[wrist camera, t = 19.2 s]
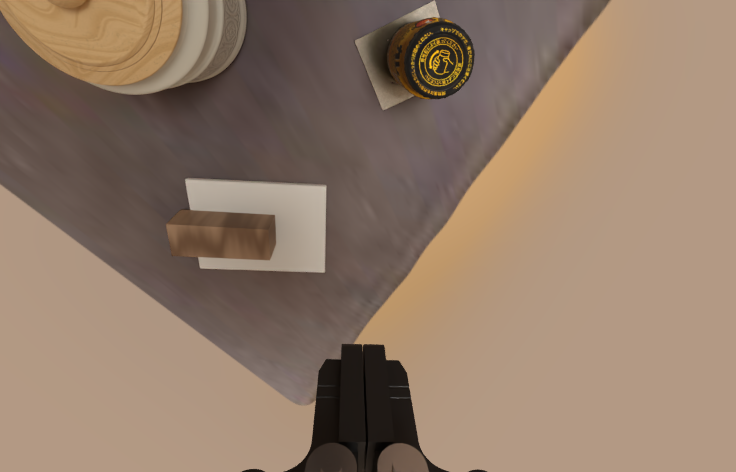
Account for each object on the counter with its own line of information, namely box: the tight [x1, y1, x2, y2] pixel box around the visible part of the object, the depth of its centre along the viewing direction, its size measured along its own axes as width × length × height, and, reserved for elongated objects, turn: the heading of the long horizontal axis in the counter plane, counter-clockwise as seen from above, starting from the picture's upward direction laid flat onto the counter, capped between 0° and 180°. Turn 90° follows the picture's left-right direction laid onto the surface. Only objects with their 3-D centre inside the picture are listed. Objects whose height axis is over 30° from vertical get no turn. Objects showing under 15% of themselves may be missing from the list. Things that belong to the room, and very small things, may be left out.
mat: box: [185, 178, 326, 273], centre depth 45 cm, size 12×16×1 cm
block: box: [166, 210, 276, 260], centre depth 43 cm, size 4×4×11 cm
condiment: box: [355, 0, 475, 110], centre depth 32 cm, size 7×8×12 cm
